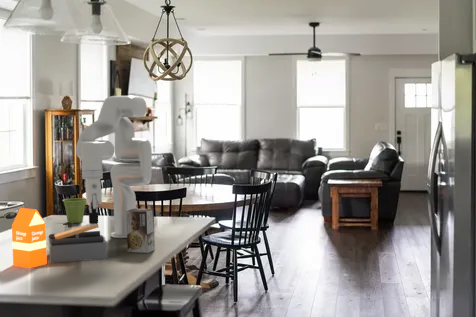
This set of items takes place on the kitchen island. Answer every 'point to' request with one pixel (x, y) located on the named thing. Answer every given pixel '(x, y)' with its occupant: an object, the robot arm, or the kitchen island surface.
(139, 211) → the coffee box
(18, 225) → the orange juice
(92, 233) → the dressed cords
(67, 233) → the bar
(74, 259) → the box
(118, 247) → the kitchen island surface
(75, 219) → the plant pot
